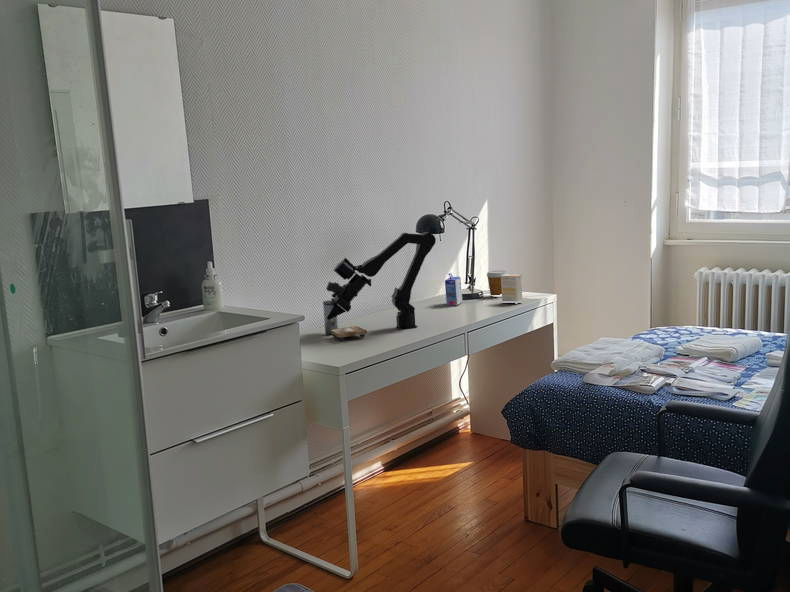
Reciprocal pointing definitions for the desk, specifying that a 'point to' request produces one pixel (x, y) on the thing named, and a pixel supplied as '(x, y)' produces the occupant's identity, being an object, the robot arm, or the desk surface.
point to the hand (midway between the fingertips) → (327, 317)
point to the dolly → (348, 332)
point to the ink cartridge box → (453, 290)
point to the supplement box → (511, 287)
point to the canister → (327, 309)
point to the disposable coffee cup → (495, 281)
